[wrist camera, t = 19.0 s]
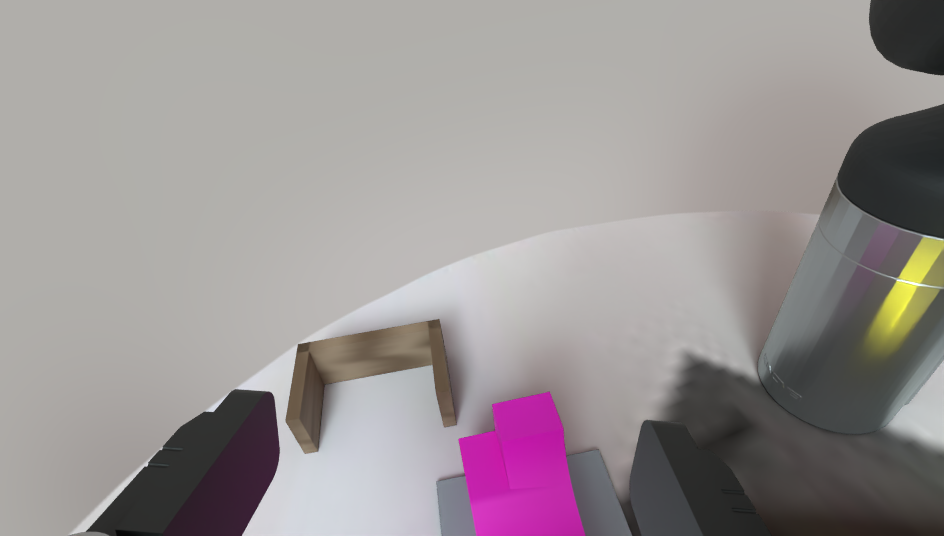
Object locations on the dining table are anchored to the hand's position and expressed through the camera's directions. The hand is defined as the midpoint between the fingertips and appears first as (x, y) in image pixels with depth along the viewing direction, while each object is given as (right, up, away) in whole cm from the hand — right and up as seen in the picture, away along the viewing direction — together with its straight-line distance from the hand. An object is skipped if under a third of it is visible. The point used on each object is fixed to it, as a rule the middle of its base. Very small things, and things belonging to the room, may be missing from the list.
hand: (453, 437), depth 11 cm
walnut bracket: (-7, -7, +31) cm, 32 cm away
